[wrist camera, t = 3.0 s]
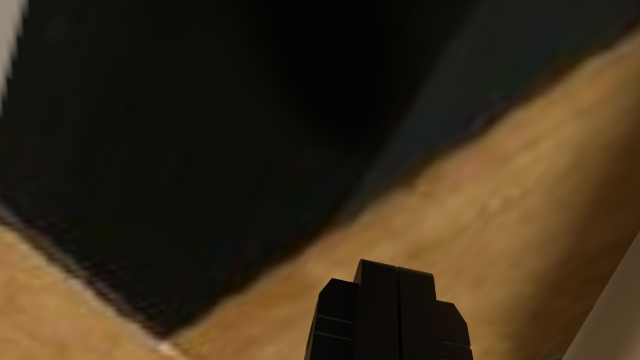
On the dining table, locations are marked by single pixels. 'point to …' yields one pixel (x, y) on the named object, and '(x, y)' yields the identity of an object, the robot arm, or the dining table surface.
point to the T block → (613, 316)
